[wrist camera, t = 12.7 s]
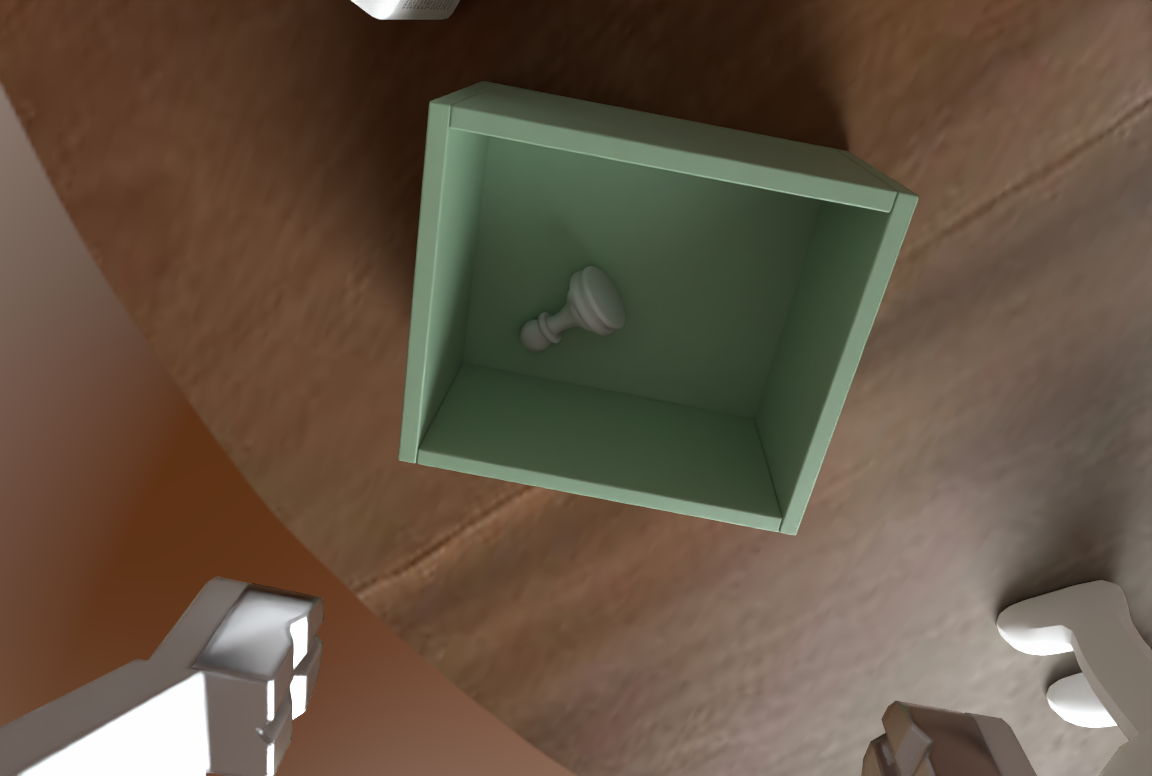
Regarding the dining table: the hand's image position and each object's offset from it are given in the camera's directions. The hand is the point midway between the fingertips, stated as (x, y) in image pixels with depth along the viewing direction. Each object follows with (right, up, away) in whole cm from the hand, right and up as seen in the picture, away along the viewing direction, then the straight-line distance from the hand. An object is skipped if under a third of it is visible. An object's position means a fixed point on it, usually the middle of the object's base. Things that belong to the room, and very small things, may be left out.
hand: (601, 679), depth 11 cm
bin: (+2, +9, +19) cm, 21 cm away
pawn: (+1, +8, +17) cm, 19 cm away
